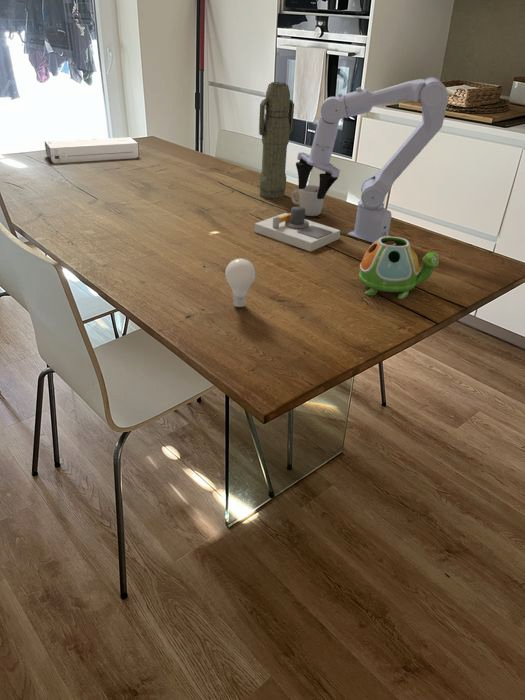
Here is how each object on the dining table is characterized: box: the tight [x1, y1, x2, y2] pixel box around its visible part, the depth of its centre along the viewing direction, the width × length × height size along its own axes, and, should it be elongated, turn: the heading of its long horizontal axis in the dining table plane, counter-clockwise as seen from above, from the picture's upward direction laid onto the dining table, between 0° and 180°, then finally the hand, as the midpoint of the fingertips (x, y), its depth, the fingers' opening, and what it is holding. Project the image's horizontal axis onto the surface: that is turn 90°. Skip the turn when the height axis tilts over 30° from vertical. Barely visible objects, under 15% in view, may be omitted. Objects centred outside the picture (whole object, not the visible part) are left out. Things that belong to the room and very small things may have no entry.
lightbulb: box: [224, 257, 256, 309], centre depth 119 cm, size 6×6×11 cm
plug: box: [285, 206, 309, 230], centre depth 160 cm, size 7×7×7 cm
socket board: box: [254, 212, 341, 252], centre depth 160 cm, size 20×14×3 cm
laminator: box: [44, 136, 140, 164], centre depth 222 cm, size 34×12×6 cm, turn 117°
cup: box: [291, 184, 325, 217], centre depth 176 cm, size 11×8×8 cm
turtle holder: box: [358, 236, 440, 300], centre depth 131 cm, size 12×18×12 cm
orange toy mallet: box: [272, 212, 291, 228], centre depth 161 cm, size 2×13×3 cm, turn 140°
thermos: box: [258, 81, 295, 200], centre depth 183 cm, size 9×12×35 cm
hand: (310, 193), depth 159 cm, fingers open, 7 cm apart
